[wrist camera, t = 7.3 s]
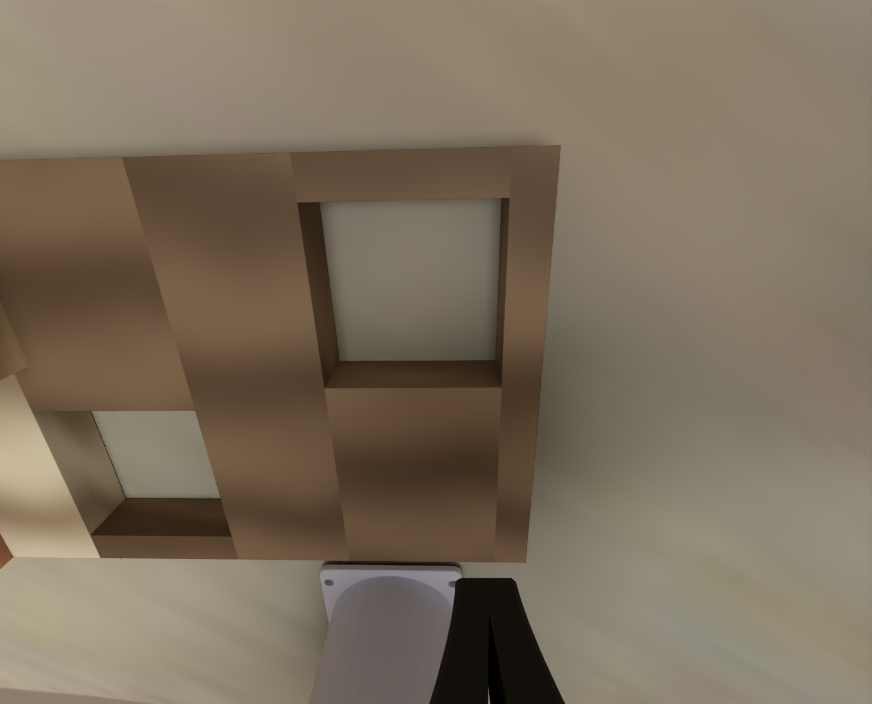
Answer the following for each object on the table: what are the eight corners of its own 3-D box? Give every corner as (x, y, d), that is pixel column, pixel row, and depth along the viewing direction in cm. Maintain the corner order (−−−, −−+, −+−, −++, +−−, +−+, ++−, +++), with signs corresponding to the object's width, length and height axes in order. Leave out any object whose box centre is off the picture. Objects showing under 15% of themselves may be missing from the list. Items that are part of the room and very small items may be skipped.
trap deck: (518, 522, 23) (531, 591, 19) (29, 518, 24) (-47, 583, 20) (544, 147, 16) (573, 143, 12) (-160, 166, 17) (-330, 168, 13)
